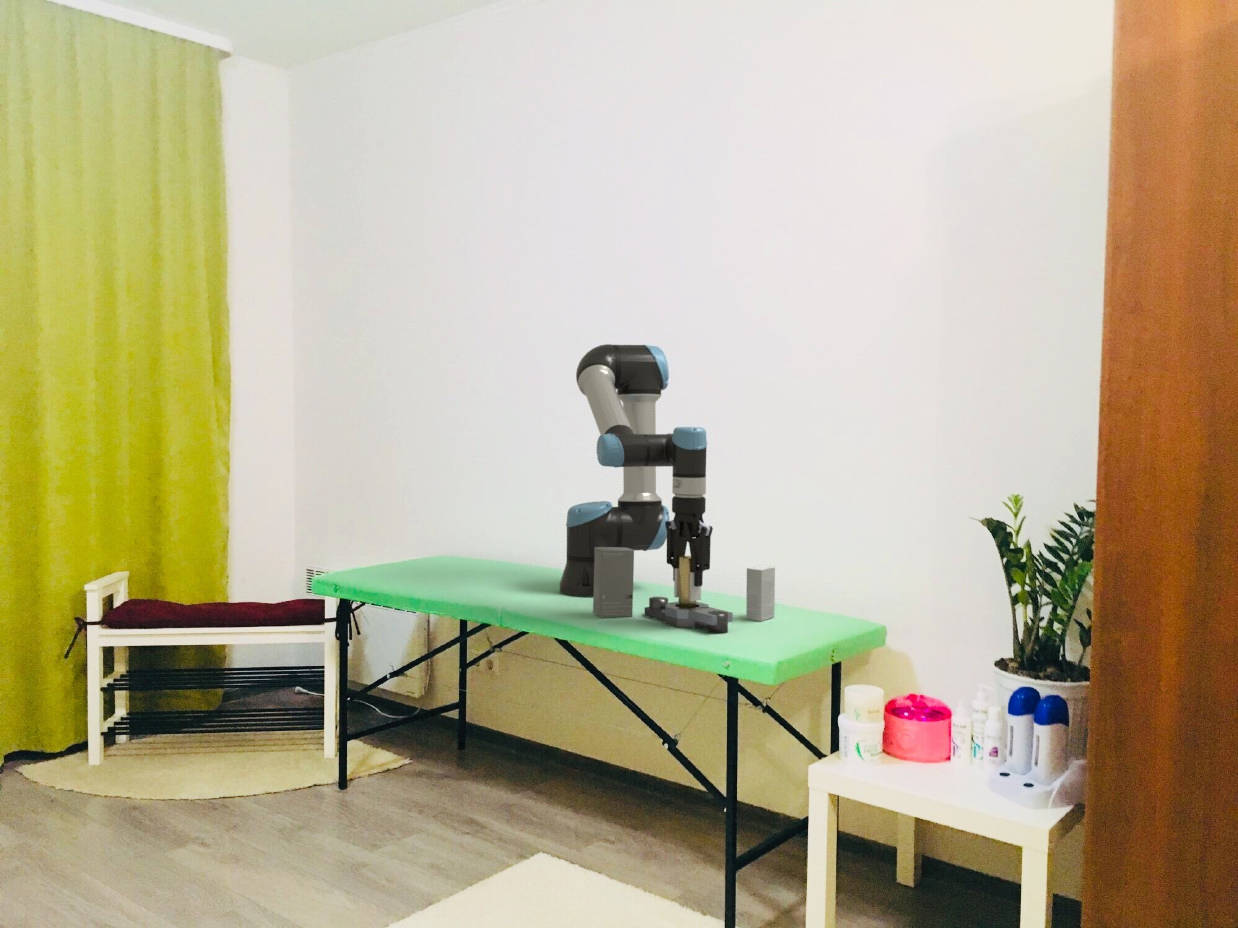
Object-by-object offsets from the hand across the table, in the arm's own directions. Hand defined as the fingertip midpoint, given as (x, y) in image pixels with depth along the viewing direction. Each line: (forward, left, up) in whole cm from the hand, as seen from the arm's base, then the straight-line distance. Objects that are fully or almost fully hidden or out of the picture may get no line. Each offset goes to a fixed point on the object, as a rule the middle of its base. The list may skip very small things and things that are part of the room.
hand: (687, 598), depth 231 cm
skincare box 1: (-17, -8, -6) cm, 20 cm away
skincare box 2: (+6, +17, -6) cm, 19 cm away
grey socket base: (0, 0, -6) cm, 6 cm away
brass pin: (0, 0, -6) cm, 6 cm away
